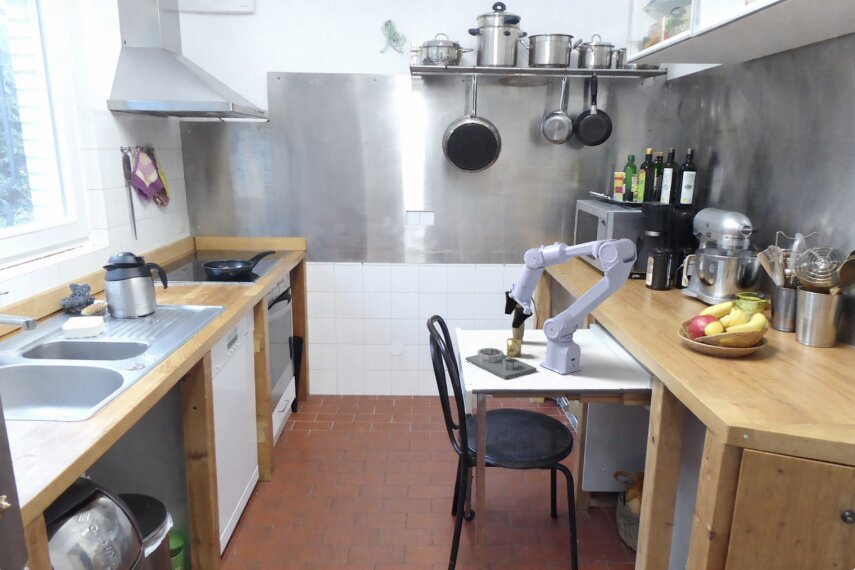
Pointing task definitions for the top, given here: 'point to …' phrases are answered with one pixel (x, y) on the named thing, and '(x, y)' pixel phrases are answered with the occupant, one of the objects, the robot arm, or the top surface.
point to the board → (497, 367)
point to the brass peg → (514, 347)
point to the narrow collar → (510, 363)
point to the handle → (520, 331)
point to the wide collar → (490, 355)
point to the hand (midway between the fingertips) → (511, 320)
